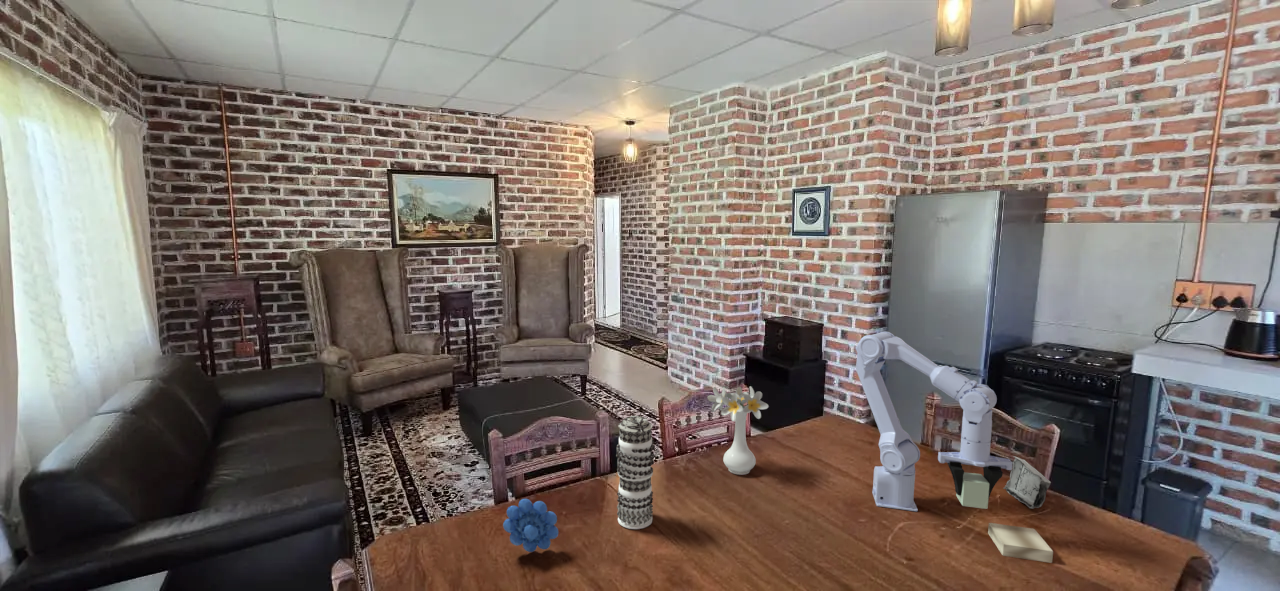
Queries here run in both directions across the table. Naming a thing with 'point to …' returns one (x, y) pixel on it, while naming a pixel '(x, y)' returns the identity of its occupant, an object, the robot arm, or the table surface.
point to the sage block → (974, 491)
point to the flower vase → (738, 425)
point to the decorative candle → (635, 473)
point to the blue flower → (531, 525)
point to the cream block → (1020, 542)
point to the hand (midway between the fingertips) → (971, 495)
